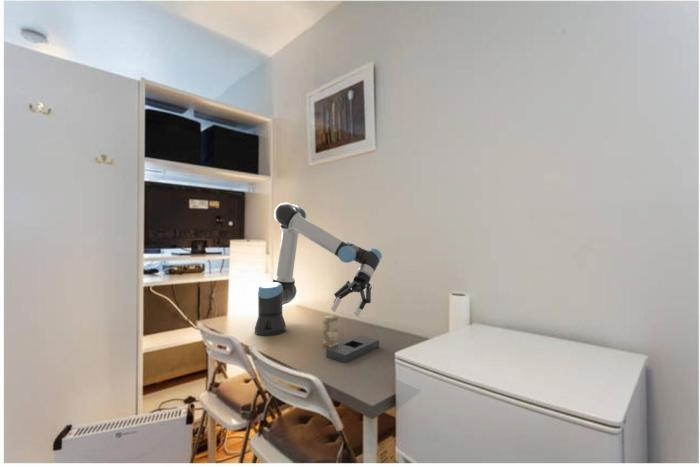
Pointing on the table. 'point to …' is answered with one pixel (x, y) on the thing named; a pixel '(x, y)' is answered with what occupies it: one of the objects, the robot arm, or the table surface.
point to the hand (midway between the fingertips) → (344, 312)
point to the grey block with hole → (352, 348)
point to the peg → (330, 331)
